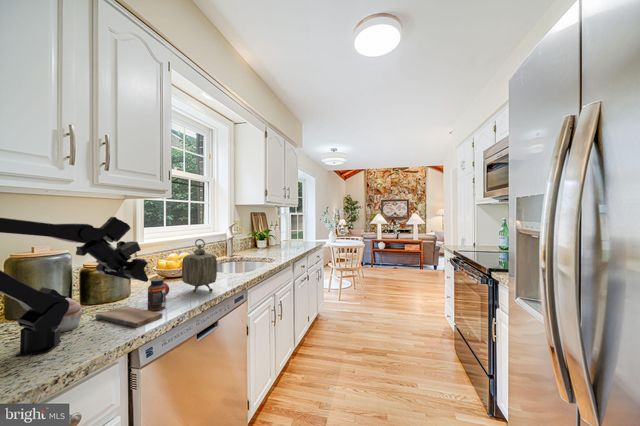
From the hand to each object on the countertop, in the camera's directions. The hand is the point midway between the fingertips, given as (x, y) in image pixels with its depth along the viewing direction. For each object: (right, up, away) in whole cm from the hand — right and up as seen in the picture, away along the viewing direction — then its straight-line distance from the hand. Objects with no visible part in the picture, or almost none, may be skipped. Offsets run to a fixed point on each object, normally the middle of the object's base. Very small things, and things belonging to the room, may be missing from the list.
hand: (138, 279), depth 95 cm
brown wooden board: (-1, -13, -3) cm, 13 cm away
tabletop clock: (+8, -13, +30) cm, 33 cm away
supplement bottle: (+3, -13, +6) cm, 15 cm away
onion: (-3, -13, +18) cm, 23 cm away
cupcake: (-15, -13, -12) cm, 23 cm away
